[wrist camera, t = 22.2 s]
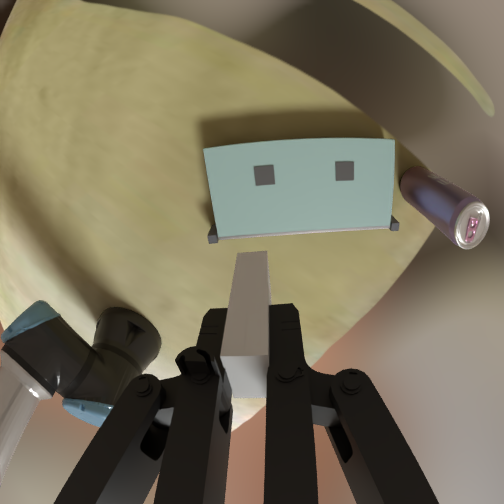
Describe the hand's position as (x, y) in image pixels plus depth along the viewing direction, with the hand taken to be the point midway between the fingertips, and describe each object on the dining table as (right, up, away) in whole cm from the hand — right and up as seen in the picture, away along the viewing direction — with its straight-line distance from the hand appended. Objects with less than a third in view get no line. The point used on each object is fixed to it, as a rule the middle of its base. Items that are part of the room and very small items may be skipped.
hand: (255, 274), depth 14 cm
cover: (+7, +9, +19) cm, 22 cm away
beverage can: (+24, +11, +20) cm, 33 cm away
